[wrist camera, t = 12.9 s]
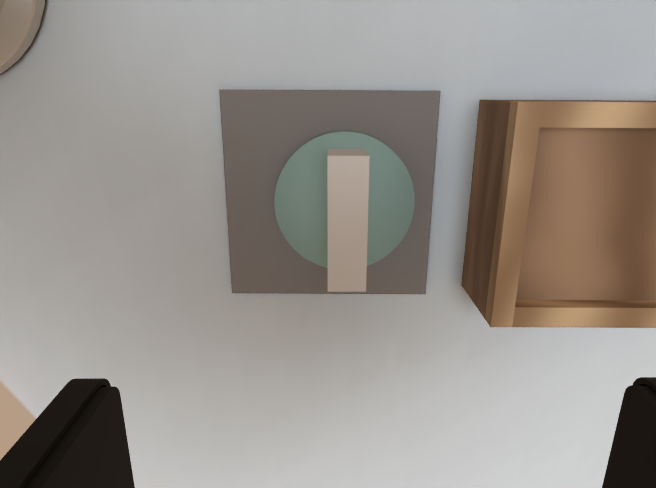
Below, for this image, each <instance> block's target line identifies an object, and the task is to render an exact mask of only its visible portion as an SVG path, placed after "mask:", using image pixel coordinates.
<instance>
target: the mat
mask: <svg viewBox="0 0 656 488" xmlns="http://www.w3.org/2000/svg"><path fill="white" fill-rule="evenodd" d="M439 103H440V91H371V90H220V106H221V122H222V139H223V155H224V171H225V187H226V203H227V219H228V235H229V251H230V268H231V284H232V293H311V294H425V293H426V279H427V266H428V252H429V239H430V225H431V211H432V198H433V184H434V171H435V157H436V144H437V130H438V117H439ZM340 130H349V131H357V132H362V133H365V134H368V135H371V136H373V137H375V138H377V139H378V140H380V141H381V142H383V143H384V144H386V145H387V146H388V147H389V148H390V149H391V150H392V151H394V152H395V153H396V154H397V156H398V157H399V158H400V159H401V160H402V162H403V163H404V165H405V167H406V168H407V170H408V172H409V175H410V177H411V180H412V184H413V188H414V195H415V206H414V213H413V217H412V221H411V224H410V226H409V229H408V231H407V233H406V234H405V236H404V238H403V239H402V241H401V242H400V243H399V245H398V246H397V247H396V248H395V249H394V250H393V251H392V252H391V253H389V254H388V255H387V256H386V257H384V258H382V259H381V260H379V261H378V262H375V263H373V264H371V265H368V266H367V275H366V292H328V268H326V267H322V266H319V265H317V264H315V263H312V262H310V261H309V260H307V259H305V258H304V257H302V256H301V255H300V254H299V253H297V252H296V251H295V250H294V249H293V248H292V247H291V246H290V244H289V243H288V242H287V240H286V239H285V237H284V236H283V234H282V232H281V230H280V228H279V225H278V222H277V219H276V214H275V206H274V197H275V189H276V185H277V182H278V178H279V176H280V174H281V172H282V169H283V168H284V166H285V164H286V163H287V161H288V160H289V158H290V157H291V156H292V154H293V153H294V152H295V151H296V150H297V149H298V148H299V147H300V146H301V145H303V144H304V143H306V142H307V141H308V140H310V139H312V138H314V137H316V136H318V135H321V134H324V133H327V132H332V131H340Z"/></svg>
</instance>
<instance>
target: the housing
mask: <svg viewBox="0 0 656 488" xmlns="http://www.w3.org/2000/svg"><path fill="white" fill-rule="evenodd" d="M462 286H463V288H464V289H465V291H466V292H467V294H468V295H469V296H470V298H471V299H472V301H473V302H474V304H475V305H476V307H477V308H478V309H479V311H480V312H481V314H482V315H483V317H484V318H485V320H486V321H487V322H488V324H489V325H490V327H606V328H656V101H602V100H480V104H479V114H478V124H477V135H476V145H475V155H474V165H473V175H472V185H471V195H470V206H469V216H468V226H467V236H466V246H465V256H464V266H463V277H462Z"/></svg>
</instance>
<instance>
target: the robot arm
mask: <svg viewBox="0 0 656 488" xmlns="http://www.w3.org/2000/svg"><path fill="white" fill-rule="evenodd" d="M44 7H45V0H0V74H1V73H3V72H4V71H5V70H7V69H8V68H9V67H11V66H12V65H13V64H14V63H16V62H17V61H18V60H19V59H20V58H21V56H22V55H23V54H24V53H25V51H26V50H27V49H28V48H29V46H30V45H31V43H32V41H33V39H34V37H35V35H36V33H37V31H38V29H39V26H40V22H41V18H42V14H43V10H44ZM0 488H135V487H134V481H133V474H132V468H131V462H130V455H129V449H128V442H127V436H126V429H125V423H124V417H123V410H122V404H121V397H120V392H119V390H118V388H117V387H111V386H110V383H109V381H108V380H107V379H72V380H71V381H69V382H68V383H67V384H66V385H65V387H64V388H63V389H62V390H61V391H60V392H59V394H58V395H57V396H56V397H55V398H54V399H53V400H52V402H51V403H50V404H49V405H48V406H47V407H46V409H45V410H44V411H43V412H42V413H41V414H40V415H39V417H38V418H37V419H36V420H35V421H34V422H33V424H32V425H31V426H30V427H29V428H28V429H27V430H26V432H25V433H24V434H23V435H22V436H21V437H20V439H19V440H18V441H17V442H16V443H15V445H14V446H13V447H12V448H11V449H10V450H9V451H8V452H7V454H6V455H5V456H4V457H3V458H2V459H1V460H0ZM602 488H656V378H638V379H636V380H635V382H634V383H633V385H632V386H629V387H628V388H627V389H626V390H625V393H624V397H623V401H622V406H621V410H620V414H619V418H618V423H617V427H616V431H615V435H614V440H613V444H612V448H611V452H610V457H609V461H608V465H607V469H606V473H605V478H604V482H603V486H602Z"/></svg>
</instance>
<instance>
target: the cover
mask: <svg viewBox="0 0 656 488" xmlns="http://www.w3.org/2000/svg"><path fill="white" fill-rule="evenodd" d="M274 206H275V214H276V219H277V222H278V225H279V228H280V230H281V232H282V234H283V236H284V237H285V239H286V240H287V242H288V243H289V244H290V246H291V247H292V248H293V249H294V250H295V251H296V252H297V253H299V254H300V255H301V256H302V257H304V258H305V259H307V260H309V261H310V262H312V263H315V264H317V265H319V266H322V267H326V268H328V292H366V275H367V266H368V265H371V264H373V263H375V262H378V261H379V260H381V259H382V258H384V257H386V256H387V255H388V254H389V253H391V252H392V251H393V250H394V249H395V248H396V247H397V246H398V245H399V243H400V242H401V241H402V239H403V238H404V236H405V234H406V233H407V231H408V229H409V226H410V224H411V221H412V217H413V213H414V206H415V195H414V188H413V184H412V180H411V177H410V175H409V172H408V170H407V168H406V167H405V165H404V163H403V162H402V160H401V159H400V158H399V157H398V156H397V154H396V153H395V152H394V151H392V150H391V149H390V148H389V147H388V146H387V145H386V144H384V143H383V142H381V141H380V140H378V139H377V138H375V137H373V136H371V135H368V134H365V133H362V132H357V131H349V130H340V131H332V132H327V133H324V134H321V135H318V136H316V137H314V138H312V139H310V140H308V141H307V142H306V143H304V144H303V145H301V146H300V147H299V148H298V149H297V150H296V151H295V152H294V153H293V154H292V156H291V157H290V158H289V160H288V161H287V163H286V164H285V166H284V168H283V169H282V172H281V174H280V176H279V178H278V182H277V185H276V189H275V197H274Z"/></svg>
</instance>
